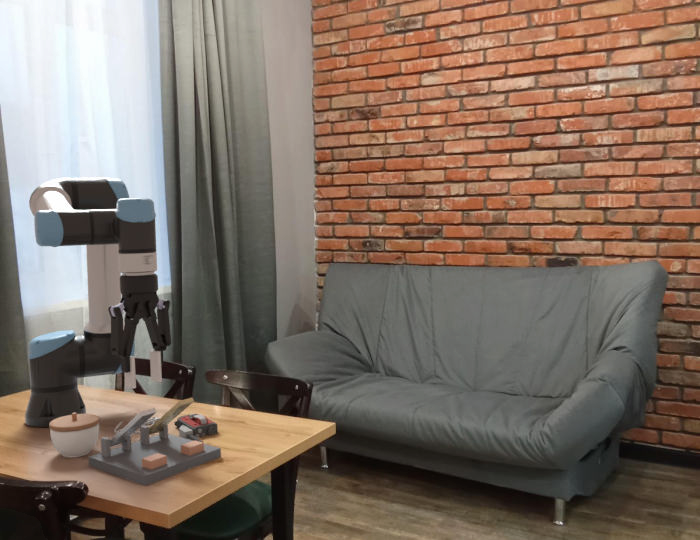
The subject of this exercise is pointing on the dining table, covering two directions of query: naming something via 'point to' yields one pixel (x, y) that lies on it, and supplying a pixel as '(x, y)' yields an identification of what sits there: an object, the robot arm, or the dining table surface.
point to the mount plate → (156, 446)
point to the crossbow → (143, 424)
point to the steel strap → (132, 427)
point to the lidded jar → (74, 434)
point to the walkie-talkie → (195, 426)
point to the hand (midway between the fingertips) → (143, 383)
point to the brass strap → (170, 415)
